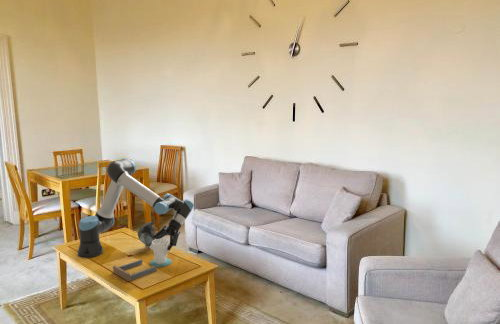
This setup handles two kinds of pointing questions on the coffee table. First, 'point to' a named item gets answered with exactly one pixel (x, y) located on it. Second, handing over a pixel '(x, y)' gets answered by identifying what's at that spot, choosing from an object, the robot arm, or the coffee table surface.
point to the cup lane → (126, 275)
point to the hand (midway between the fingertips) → (157, 251)
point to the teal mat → (168, 262)
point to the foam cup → (159, 250)
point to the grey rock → (147, 234)
